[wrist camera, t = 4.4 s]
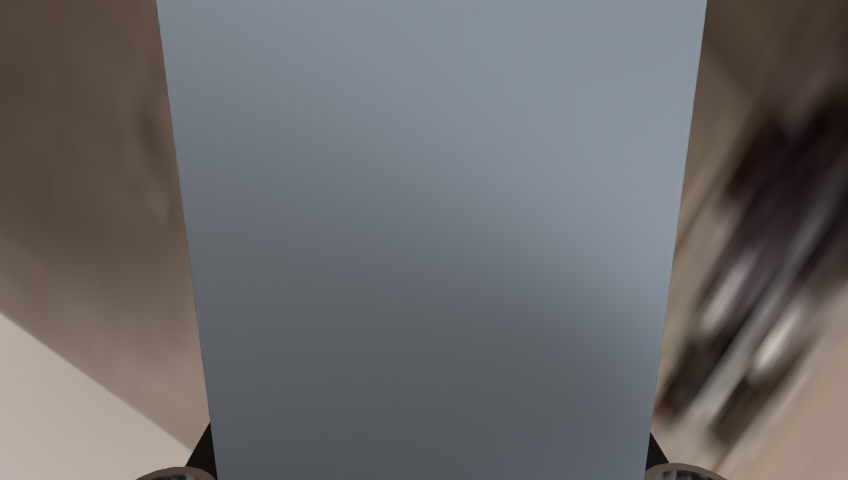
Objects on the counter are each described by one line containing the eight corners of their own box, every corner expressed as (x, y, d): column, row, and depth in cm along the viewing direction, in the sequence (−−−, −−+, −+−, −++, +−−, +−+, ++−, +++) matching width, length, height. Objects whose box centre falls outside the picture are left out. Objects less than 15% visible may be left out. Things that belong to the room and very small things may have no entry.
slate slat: (544, 7, 10) (714, -55, 4) (509, 635, 14) (571, 1032, 8) (304, 7, 10) (150, -56, 4) (341, 637, 14) (289, 1035, 8)
